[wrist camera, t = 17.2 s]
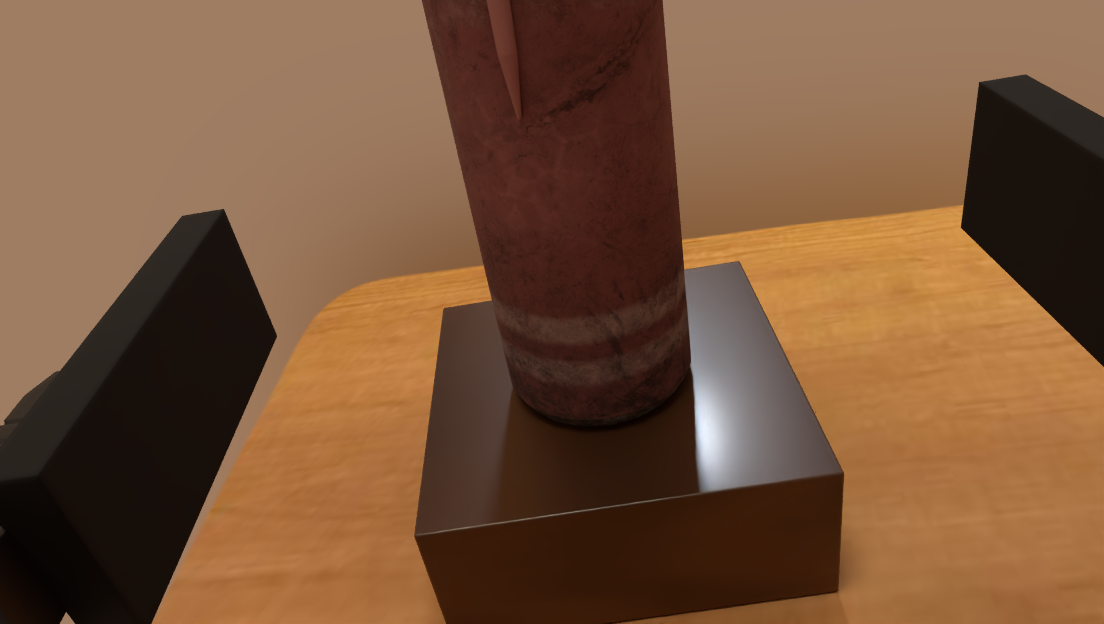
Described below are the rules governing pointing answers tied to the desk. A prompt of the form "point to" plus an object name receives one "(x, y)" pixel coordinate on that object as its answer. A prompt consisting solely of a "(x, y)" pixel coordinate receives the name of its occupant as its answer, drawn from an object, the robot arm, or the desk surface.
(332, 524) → the desk surface
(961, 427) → the desk surface
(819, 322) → the desk surface
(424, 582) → the desk surface
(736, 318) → the walnut block
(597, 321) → the can
